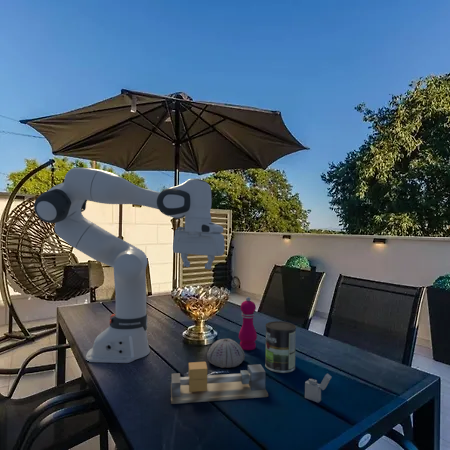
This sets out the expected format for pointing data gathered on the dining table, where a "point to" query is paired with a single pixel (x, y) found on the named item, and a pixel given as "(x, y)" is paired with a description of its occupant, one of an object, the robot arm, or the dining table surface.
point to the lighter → (315, 388)
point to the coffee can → (280, 346)
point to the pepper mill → (248, 326)
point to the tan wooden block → (197, 376)
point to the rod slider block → (222, 386)
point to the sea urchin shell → (225, 353)
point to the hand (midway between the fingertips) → (197, 267)
